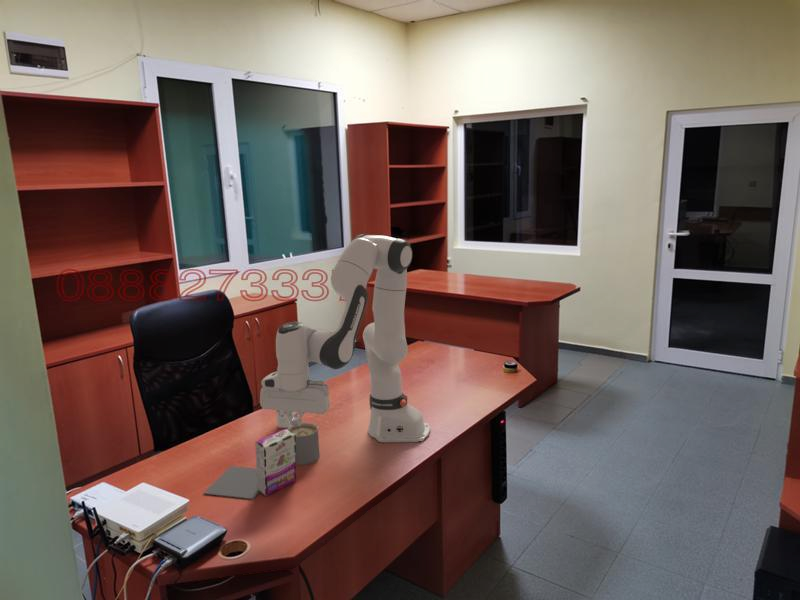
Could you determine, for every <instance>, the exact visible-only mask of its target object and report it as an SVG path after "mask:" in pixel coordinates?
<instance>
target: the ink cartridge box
mask: <svg viewBox="0 0 800 600" xmlns="http://www.w3.org/2000/svg"><path fill="white" fill-rule="evenodd" d="M275 411H276V412H275V413H276V414H275V415H276V423H277V428H281V429H288V428H290V427H291V426H293V425H290V420H289V418H288V417H287V415H286V411H282V410H275ZM292 414H293V416H294V417H296V418H298V412H294V411H293V412H292Z"/></svg>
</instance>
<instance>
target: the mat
mask: <svg viewBox="0 0 800 600" xmlns="http://www.w3.org/2000/svg"><path fill="white" fill-rule="evenodd" d="M260 493H261V492H260V491H259V490H258V489H257V467H256V468H255V467H244V466H243V467H242V466H232V465H231V466H229V468H227V470H225V471H224V472H223V473H222V474H221V475H220V476H219V477H218V478H217V479H216V480H215V481H214V482H213V483H212V484H211V485H210V486H209V487H208V488H207V489H206V490H205V491H204V492H203V495H205V494H210V495H209V496H214V495H216V496H217V497H223V496H225V498H232V497H234V499H241V498H244V499H243V500H250V499H251V500H252V501H254V500H255V499H256V497H257V496H258V495H259V494H260Z"/></svg>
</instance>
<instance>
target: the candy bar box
mask: <svg viewBox="0 0 800 600" xmlns="http://www.w3.org/2000/svg"><path fill="white" fill-rule="evenodd" d="M255 461H256V462H255V463H256V466H255V467H256V469H257V489H258V490H259V491H260V493H262V494H263V496H265V497H268V496H270V495H272V494H274V493H275V492H278V491H279V490H282V489H284V488H285V487H287V486H289V485H291V484H292V483H294V482H297V464H296V445H295V434H294V433H293V432H291V431H289V430H288V428H283V429H282V430H279V431H277V432H275V433H273V434H270V435H268V436H265V437H264V438H261V439H259V440H256V441H255Z"/></svg>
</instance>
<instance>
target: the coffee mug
mask: <svg viewBox="0 0 800 600" xmlns="http://www.w3.org/2000/svg"><path fill="white" fill-rule="evenodd" d="M287 429H288V430H289V431H291V432H293V433H294V434H295V445H296V466H297V465H298V466H299V465H301V466H305V465H310V464H312V463H315V462H317V461H318V460H319V459H320V440H319V438H320V437H319V429H318V426H317V424H314V423H310V422H302V424H301V425H300V426H298V425H292V426H291V427H290V428H287Z"/></svg>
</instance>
